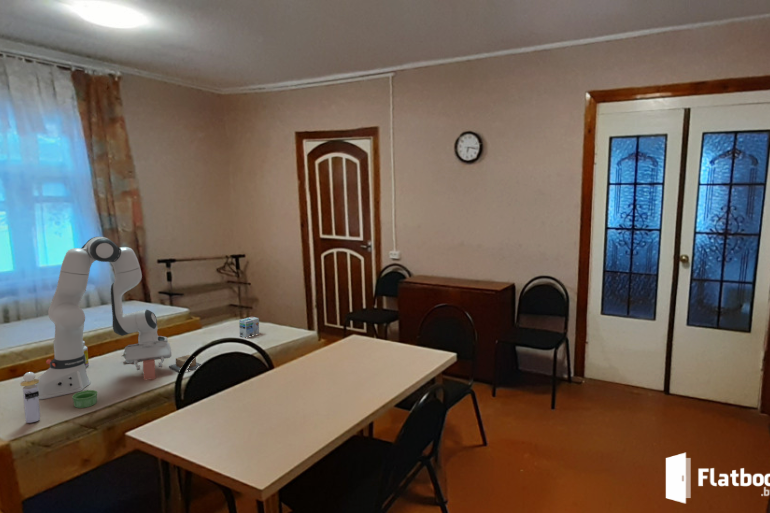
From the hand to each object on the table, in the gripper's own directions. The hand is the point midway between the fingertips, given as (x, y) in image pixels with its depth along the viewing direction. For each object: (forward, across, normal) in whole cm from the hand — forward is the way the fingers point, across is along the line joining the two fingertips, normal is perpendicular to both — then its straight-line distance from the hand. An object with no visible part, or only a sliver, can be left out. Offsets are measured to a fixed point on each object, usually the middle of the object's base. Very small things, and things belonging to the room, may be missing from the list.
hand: (149, 367), depth 229 cm
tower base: (-2, +17, +8) cm, 19 cm away
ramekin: (+18, -24, -11) cm, 33 cm away
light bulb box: (-32, +56, +39) cm, 75 cm away
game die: (-16, -9, +24) cm, 30 cm away
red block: (+3, 0, +4) cm, 5 cm away
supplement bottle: (-18, -32, +24) cm, 44 cm away
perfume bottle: (+25, -41, -18) cm, 51 cm away
